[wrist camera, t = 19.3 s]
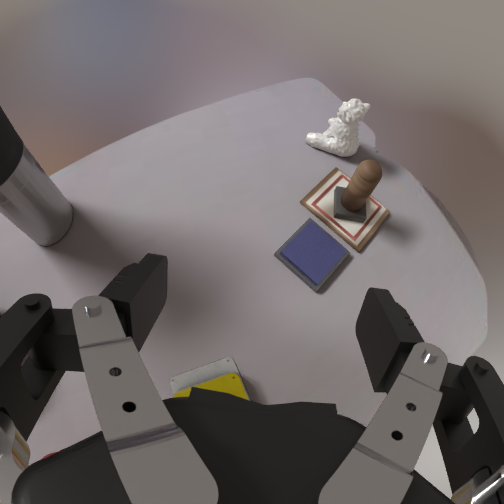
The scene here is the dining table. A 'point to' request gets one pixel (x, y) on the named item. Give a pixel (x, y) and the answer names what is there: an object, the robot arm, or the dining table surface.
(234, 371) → the emergency button
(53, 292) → the dining table surface
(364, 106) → the seated beast figurine
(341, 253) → the ink pad
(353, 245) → the framed board
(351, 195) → the stamp
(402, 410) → the robot arm
